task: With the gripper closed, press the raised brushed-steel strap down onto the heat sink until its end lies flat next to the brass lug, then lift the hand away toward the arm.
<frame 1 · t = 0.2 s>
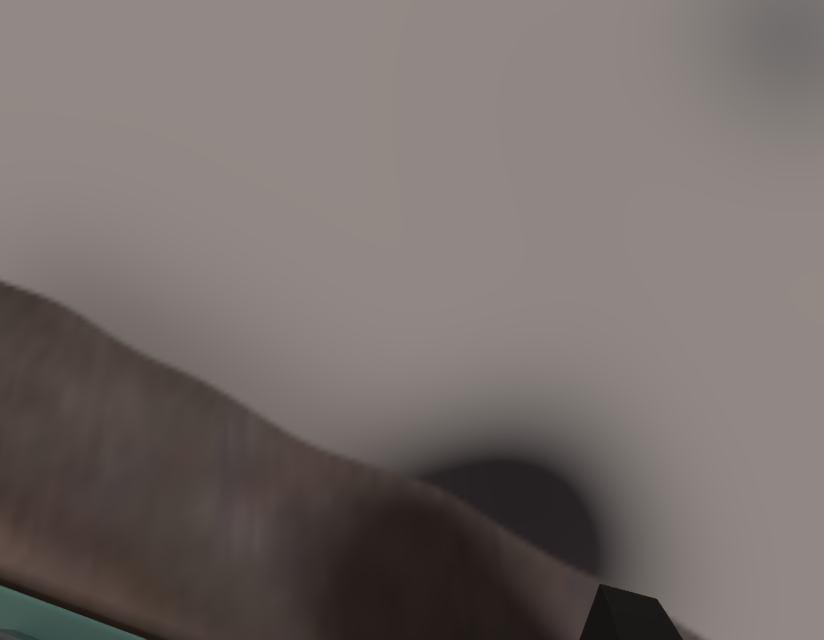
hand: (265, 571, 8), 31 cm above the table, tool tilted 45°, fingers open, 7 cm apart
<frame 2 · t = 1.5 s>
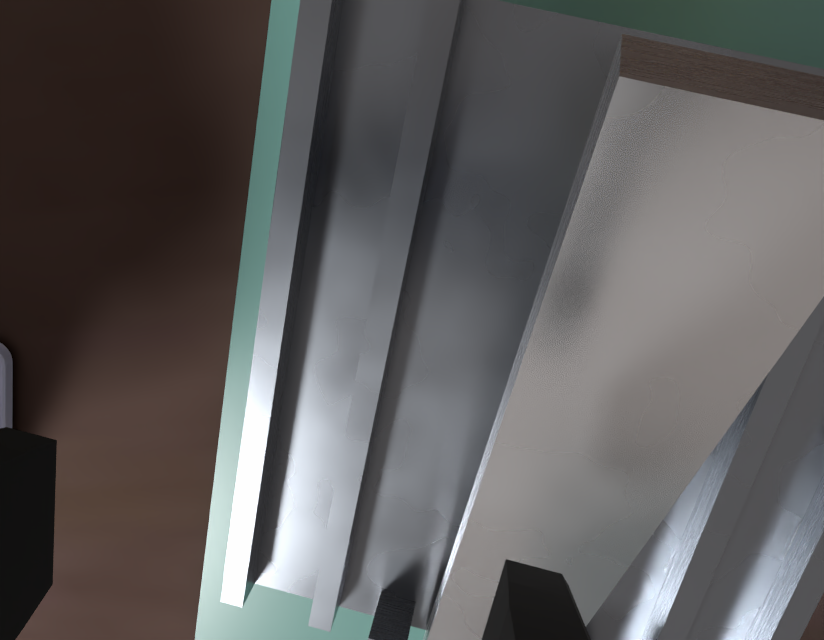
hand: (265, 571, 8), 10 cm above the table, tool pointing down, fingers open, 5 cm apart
heat sink: (570, 323, 15), on the circuit board, point 3 cm above the table
circuit board: (551, 325, 18), on the table
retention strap: (553, 514, 11), point 7 cm above the table, hinge at 25.0°
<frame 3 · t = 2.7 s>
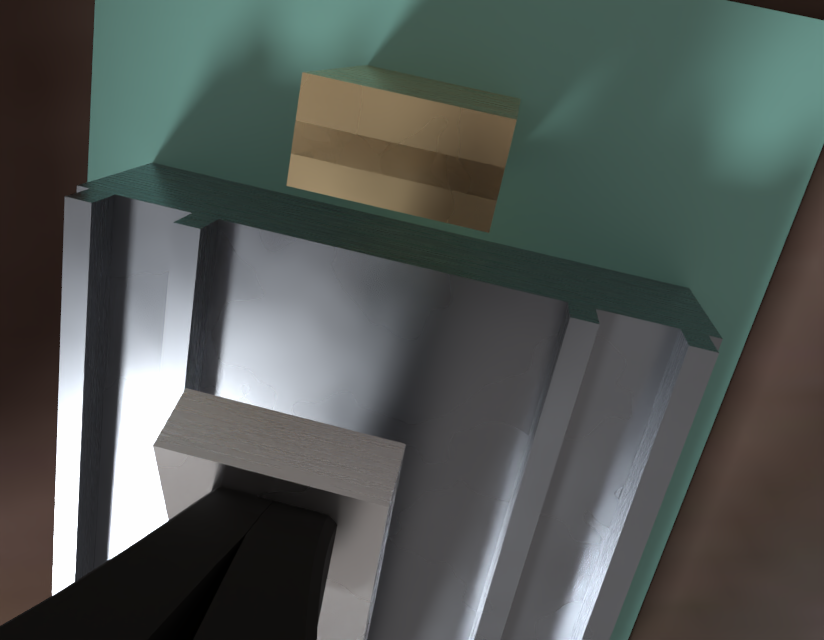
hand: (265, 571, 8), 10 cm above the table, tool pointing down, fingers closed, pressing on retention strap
heat sink: (348, 487, 16), on the circuit board, point 3 cm above the table
circuit board: (367, 462, 19), on the table
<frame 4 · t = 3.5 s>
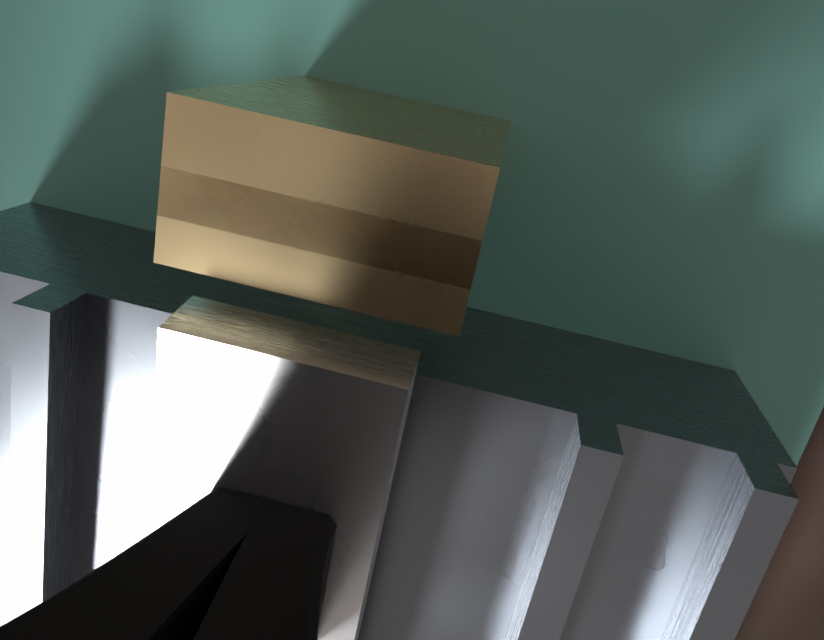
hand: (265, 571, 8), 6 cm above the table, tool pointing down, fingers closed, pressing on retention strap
heat sink: (284, 634, 12), on the circuit board, point 3 cm above the table
circuit board: (320, 572, 15), on the table
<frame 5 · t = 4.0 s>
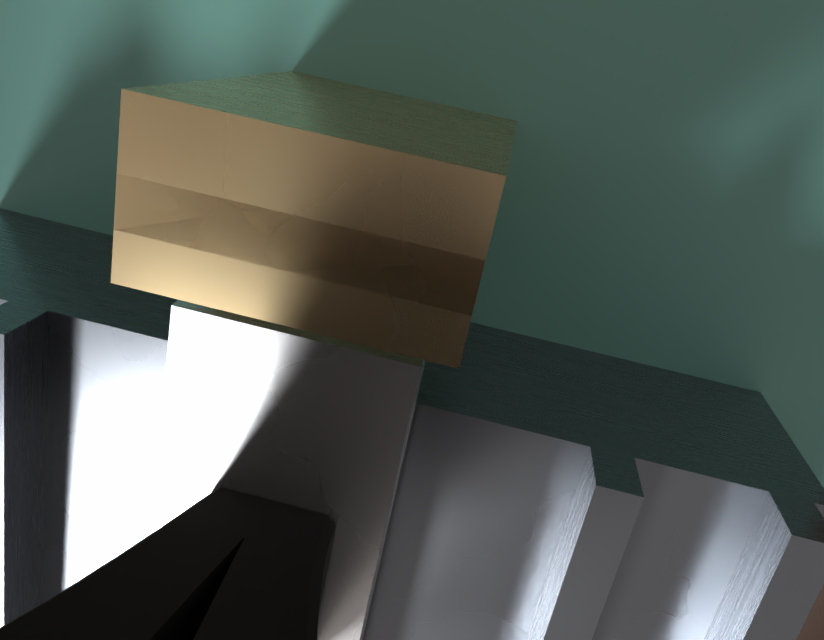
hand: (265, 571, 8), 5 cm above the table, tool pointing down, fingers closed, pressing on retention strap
circuit board: (312, 601, 14), on the table
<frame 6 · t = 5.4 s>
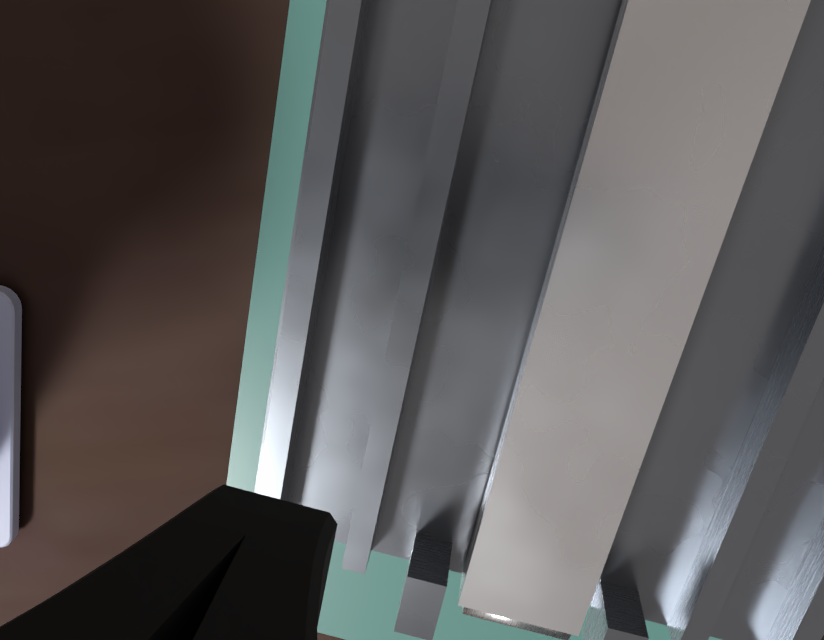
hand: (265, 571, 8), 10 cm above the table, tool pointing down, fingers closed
heat sink: (618, 242, 14), on the circuit board, point 3 cm above the table
circuit board: (587, 259, 17), on the table
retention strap: (613, 307, 13), point 4 cm above the table, hinge at 0.7°
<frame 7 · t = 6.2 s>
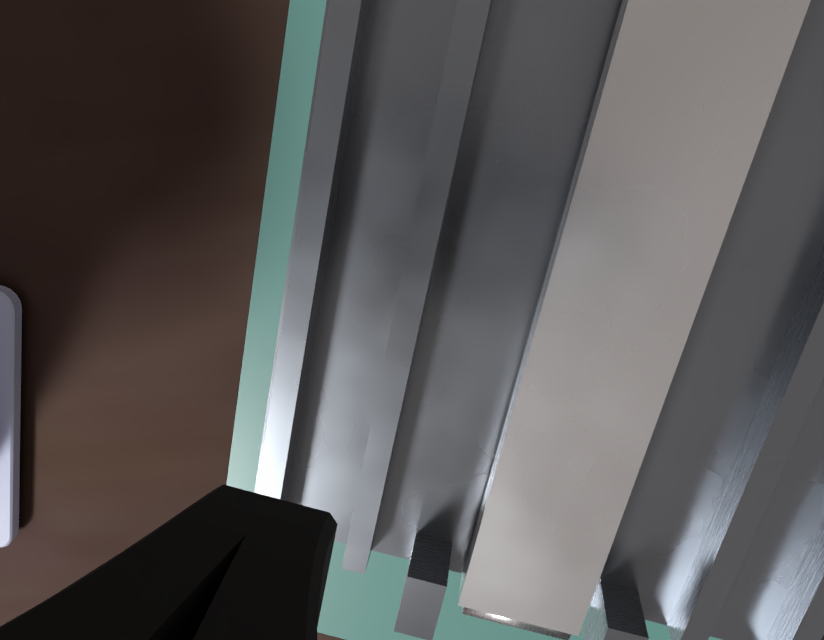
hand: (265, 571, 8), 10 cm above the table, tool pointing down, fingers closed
heat sink: (618, 242, 14), on the circuit board, point 3 cm above the table
circuit board: (587, 259, 17), on the table
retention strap: (613, 307, 13), point 4 cm above the table, hinge at 0.7°
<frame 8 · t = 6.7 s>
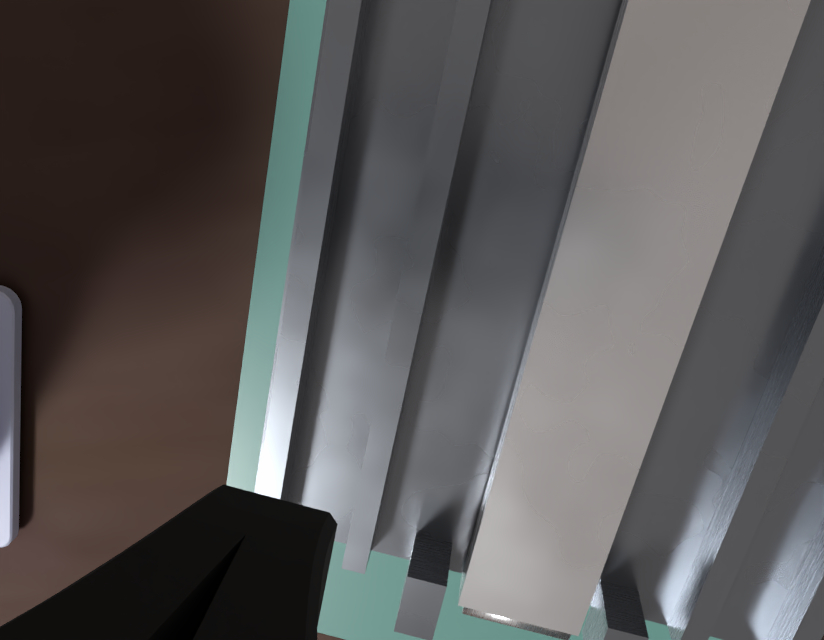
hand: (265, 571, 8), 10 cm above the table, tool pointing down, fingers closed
heat sink: (618, 242, 14), on the circuit board, point 3 cm above the table
circuit board: (587, 259, 17), on the table
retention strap: (613, 307, 13), point 4 cm above the table, hinge at 0.7°
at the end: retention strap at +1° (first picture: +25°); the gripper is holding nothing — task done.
